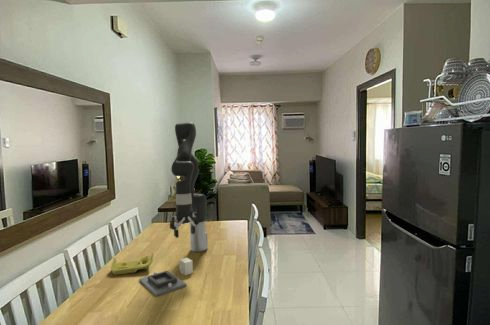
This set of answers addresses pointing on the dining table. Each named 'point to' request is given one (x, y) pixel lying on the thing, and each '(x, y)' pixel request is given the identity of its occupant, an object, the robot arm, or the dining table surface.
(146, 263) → the plastic component
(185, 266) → the block
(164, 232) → the dining table surface
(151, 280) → the housing plate
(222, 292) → the dining table surface
